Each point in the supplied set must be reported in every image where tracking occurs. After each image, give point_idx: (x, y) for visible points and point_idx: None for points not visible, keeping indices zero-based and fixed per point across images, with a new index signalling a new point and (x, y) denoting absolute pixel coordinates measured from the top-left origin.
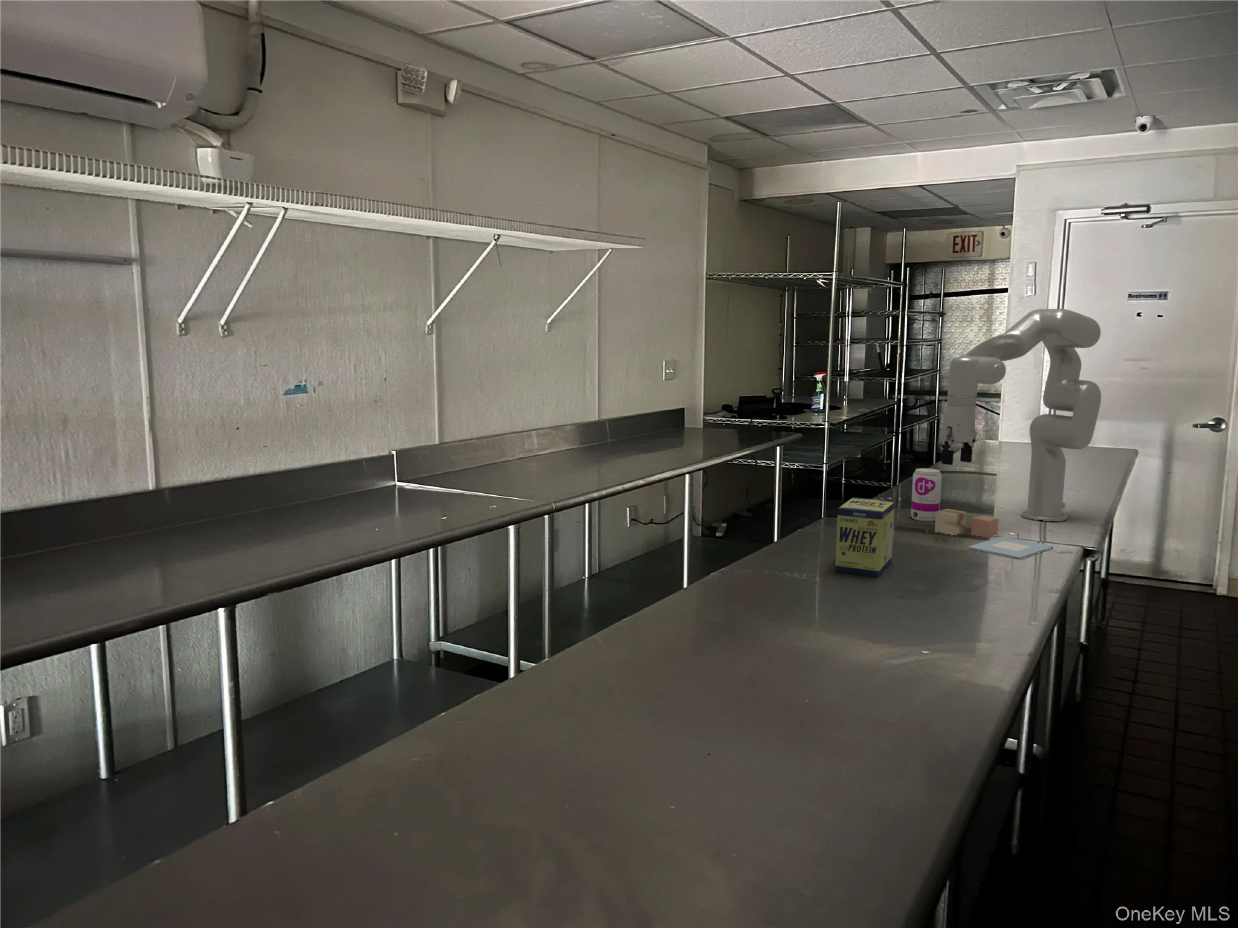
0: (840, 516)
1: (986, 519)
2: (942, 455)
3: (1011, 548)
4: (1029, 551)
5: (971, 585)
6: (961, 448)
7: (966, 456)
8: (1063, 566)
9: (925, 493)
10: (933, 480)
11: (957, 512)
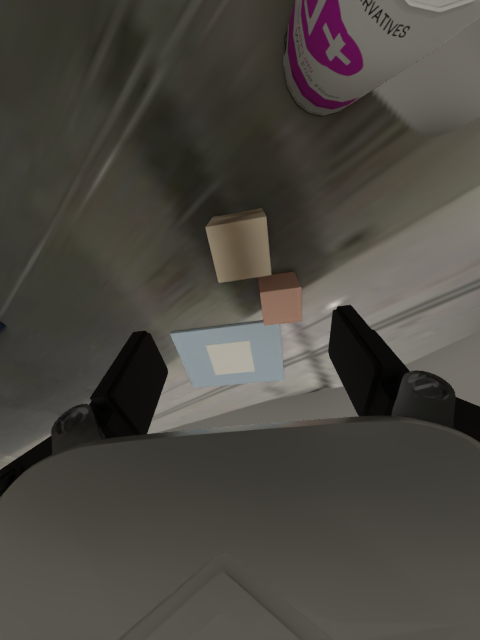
0: None
1: (271, 315)
2: (115, 366)
3: (219, 365)
4: (229, 380)
5: (70, 407)
6: (372, 367)
7: (341, 358)
8: (215, 412)
9: (311, 48)
10: (361, 50)
11: (247, 265)
